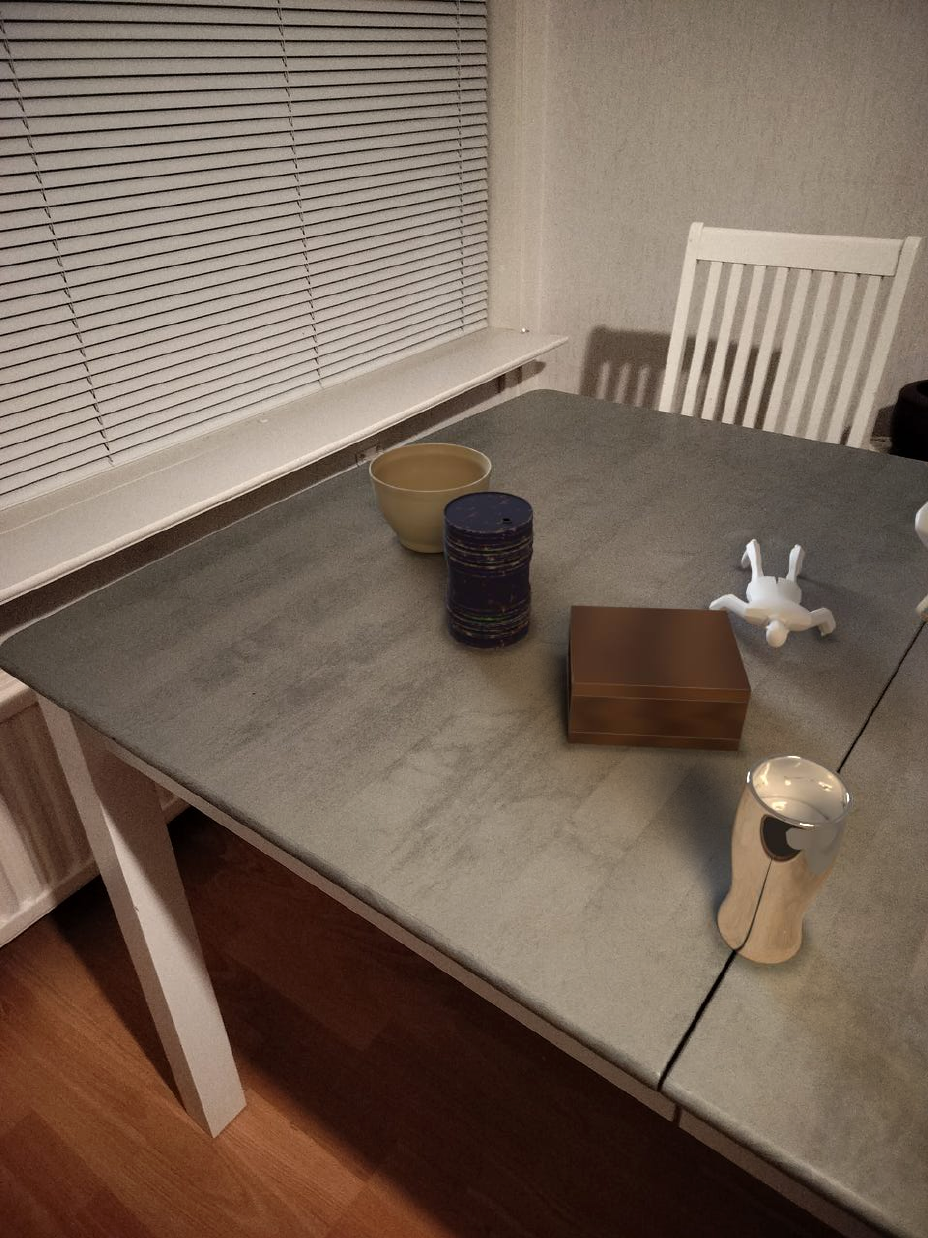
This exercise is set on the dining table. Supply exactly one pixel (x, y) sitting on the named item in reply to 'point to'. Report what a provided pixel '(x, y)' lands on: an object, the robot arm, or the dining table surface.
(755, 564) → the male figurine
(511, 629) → the dark blue oil drum
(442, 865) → the dining table surface
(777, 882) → the beer glass
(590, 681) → the wooden keepsake box
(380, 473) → the planter bowl
